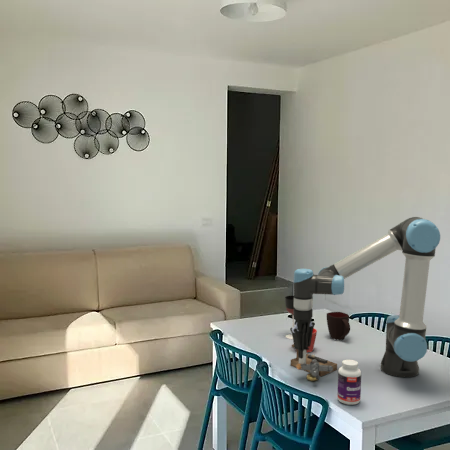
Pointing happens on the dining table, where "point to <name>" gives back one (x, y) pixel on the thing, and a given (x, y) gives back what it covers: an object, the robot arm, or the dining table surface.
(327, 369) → the capstan
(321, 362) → the level stand
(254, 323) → the dining table surface
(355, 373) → the pill bottle
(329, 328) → the cup
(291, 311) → the wineglass
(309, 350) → the flower pot
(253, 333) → the dining table surface
